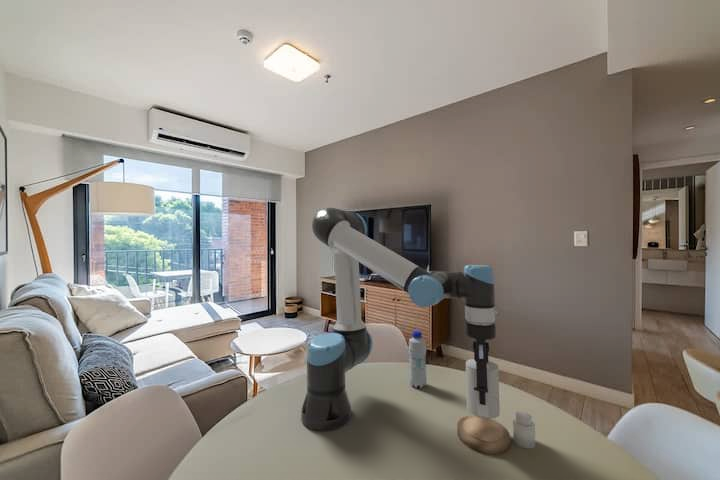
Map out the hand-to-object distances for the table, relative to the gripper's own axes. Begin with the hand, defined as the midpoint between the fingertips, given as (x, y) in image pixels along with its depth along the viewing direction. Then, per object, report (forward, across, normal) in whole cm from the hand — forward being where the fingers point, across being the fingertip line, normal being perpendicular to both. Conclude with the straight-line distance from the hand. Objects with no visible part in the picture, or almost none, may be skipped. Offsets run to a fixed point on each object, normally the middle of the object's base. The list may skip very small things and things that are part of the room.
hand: (482, 406), depth 77 cm
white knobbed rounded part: (+8, +2, -10) cm, 13 cm away
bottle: (+8, +23, +22) cm, 33 cm away
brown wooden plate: (+8, 0, 0) cm, 8 cm away
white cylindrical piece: (+1, 0, 0) cm, 1 cm away
